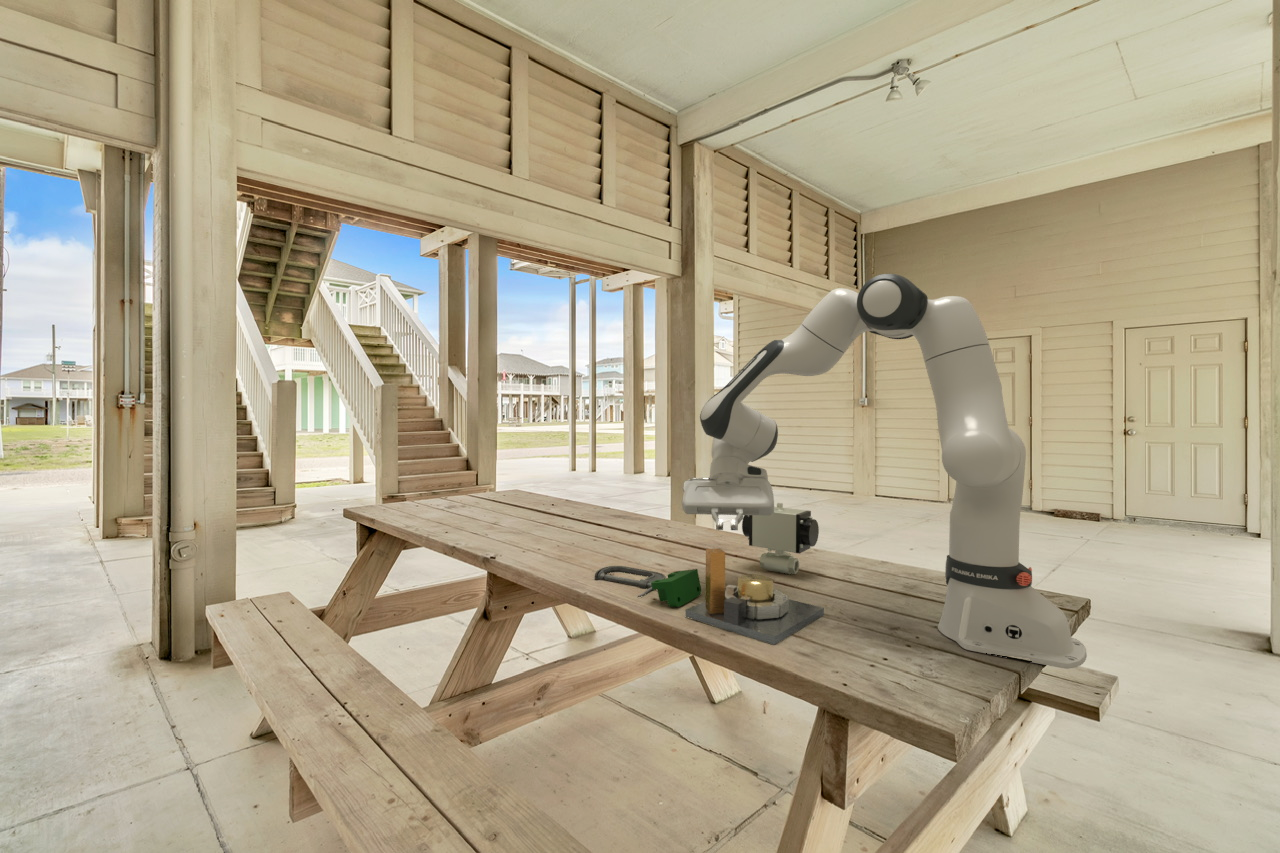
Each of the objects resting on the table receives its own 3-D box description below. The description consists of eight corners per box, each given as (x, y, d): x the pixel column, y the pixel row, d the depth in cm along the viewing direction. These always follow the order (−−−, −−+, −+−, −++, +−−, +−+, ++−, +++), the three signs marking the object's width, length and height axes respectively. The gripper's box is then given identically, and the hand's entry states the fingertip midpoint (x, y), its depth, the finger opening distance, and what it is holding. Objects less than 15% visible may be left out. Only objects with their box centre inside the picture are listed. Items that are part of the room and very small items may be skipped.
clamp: (678, 613, 130) (679, 572, 134) (701, 612, 127) (701, 570, 131) (647, 606, 122) (649, 562, 126) (671, 604, 118) (671, 560, 122)
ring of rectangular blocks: (770, 595, 124) (771, 540, 123) (798, 616, 111) (798, 554, 111) (698, 600, 120) (698, 543, 120) (718, 622, 108) (718, 559, 108)
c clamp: (681, 581, 141) (681, 570, 141) (640, 600, 127) (640, 588, 127) (617, 568, 153) (617, 557, 153) (573, 584, 139) (573, 572, 139)
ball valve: (820, 573, 146) (821, 504, 145) (808, 582, 139) (808, 509, 138) (755, 562, 157) (756, 497, 156) (741, 569, 150) (741, 501, 149)
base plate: (824, 615, 117) (824, 578, 117) (774, 645, 102) (774, 603, 102) (740, 593, 130) (740, 560, 130) (685, 617, 116) (685, 580, 115)
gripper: (682, 469, 133) (677, 519, 123) (773, 469, 128) (774, 521, 119) (685, 486, 137) (680, 535, 128) (773, 487, 133) (774, 538, 123)
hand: (726, 528), depth 123 cm, fingers closed
